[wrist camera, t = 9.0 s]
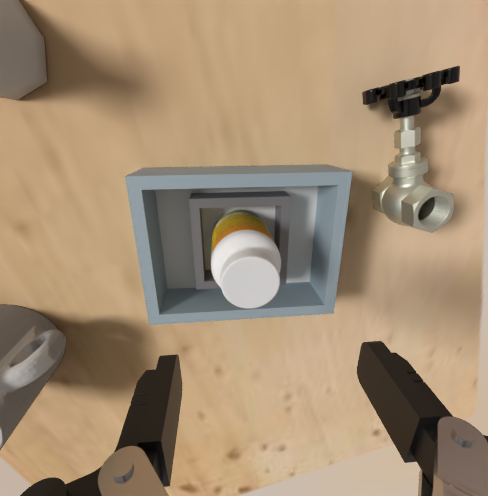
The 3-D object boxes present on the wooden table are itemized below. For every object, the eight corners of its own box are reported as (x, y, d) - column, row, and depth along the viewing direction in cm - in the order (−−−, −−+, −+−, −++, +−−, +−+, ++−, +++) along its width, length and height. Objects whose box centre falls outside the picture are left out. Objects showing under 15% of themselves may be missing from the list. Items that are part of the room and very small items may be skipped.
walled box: (143, 167, 25) (125, 176, 20) (326, 164, 27) (352, 171, 22) (160, 292, 30) (149, 324, 25) (314, 284, 32) (333, 313, 27)
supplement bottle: (201, 223, 27) (194, 268, 18) (253, 198, 26) (272, 231, 17) (226, 268, 29) (231, 329, 20) (275, 246, 28) (302, 298, 19)
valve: (419, 206, 29) (419, 77, 25) (472, 225, 23) (485, 58, 19) (357, 222, 29) (346, 96, 25) (394, 245, 23) (389, 84, 19)
